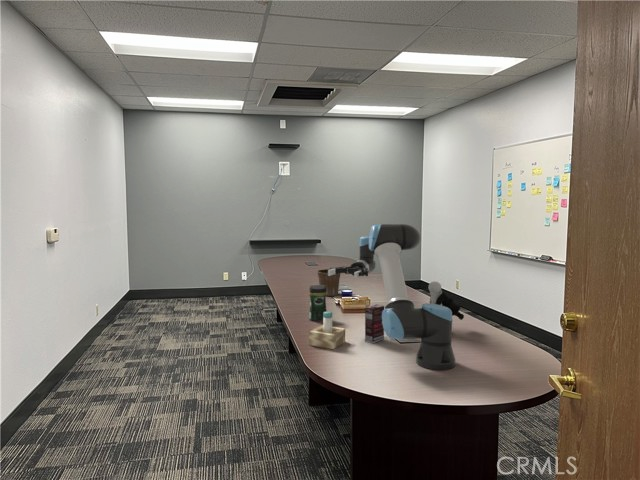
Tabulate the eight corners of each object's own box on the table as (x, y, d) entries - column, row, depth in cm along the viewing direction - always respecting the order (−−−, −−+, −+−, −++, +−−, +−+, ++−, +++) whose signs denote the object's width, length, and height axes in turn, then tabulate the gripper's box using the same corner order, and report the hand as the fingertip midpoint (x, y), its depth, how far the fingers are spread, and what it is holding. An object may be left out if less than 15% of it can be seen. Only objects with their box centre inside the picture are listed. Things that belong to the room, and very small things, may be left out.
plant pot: (328, 298, 301) (328, 273, 299) (311, 294, 313) (312, 270, 311) (346, 295, 312) (346, 271, 310) (329, 291, 324) (329, 268, 322)
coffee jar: (325, 317, 254) (325, 283, 252) (327, 320, 246) (328, 286, 245) (308, 317, 253) (308, 283, 251) (309, 321, 245) (309, 286, 243)
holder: (345, 341, 211) (345, 328, 211) (333, 349, 201) (333, 335, 200) (321, 337, 217) (321, 325, 216) (309, 344, 206) (309, 331, 206)
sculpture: (413, 329, 232) (414, 279, 230) (453, 325, 240) (454, 277, 238) (430, 338, 218) (431, 285, 215) (472, 333, 226) (474, 282, 223)
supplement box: (376, 337, 218) (376, 304, 217) (384, 339, 215) (385, 305, 213) (364, 341, 212) (364, 307, 211) (372, 343, 209) (373, 308, 207)
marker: (333, 342, 210) (333, 312, 209) (329, 345, 206) (329, 314, 205) (325, 341, 212) (325, 311, 210) (321, 343, 208) (321, 313, 207)
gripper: (382, 277, 232) (366, 284, 214) (337, 273, 244) (318, 279, 225) (382, 262, 232) (366, 268, 213) (337, 259, 243) (318, 264, 224)
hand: (341, 274), depth 219 cm, fingers open, 13 cm apart
